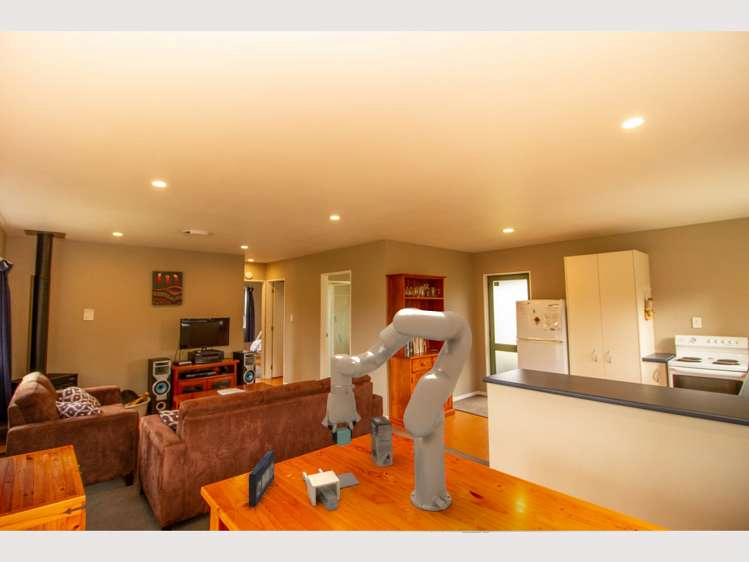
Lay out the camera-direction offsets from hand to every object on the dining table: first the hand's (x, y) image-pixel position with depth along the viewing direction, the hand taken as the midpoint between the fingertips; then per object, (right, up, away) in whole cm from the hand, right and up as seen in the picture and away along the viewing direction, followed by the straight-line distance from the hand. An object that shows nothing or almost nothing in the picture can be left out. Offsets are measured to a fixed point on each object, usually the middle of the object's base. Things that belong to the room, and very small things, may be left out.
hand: (342, 441), depth 128 cm
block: (0, 0, -1) cm, 1 cm away
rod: (-4, -13, -13) cm, 19 cm away
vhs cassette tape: (-26, -14, -7) cm, 31 cm away
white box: (-7, -14, -6) cm, 16 cm away
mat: (0, -14, -1) cm, 14 cm away
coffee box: (+14, -15, +15) cm, 25 cm away
